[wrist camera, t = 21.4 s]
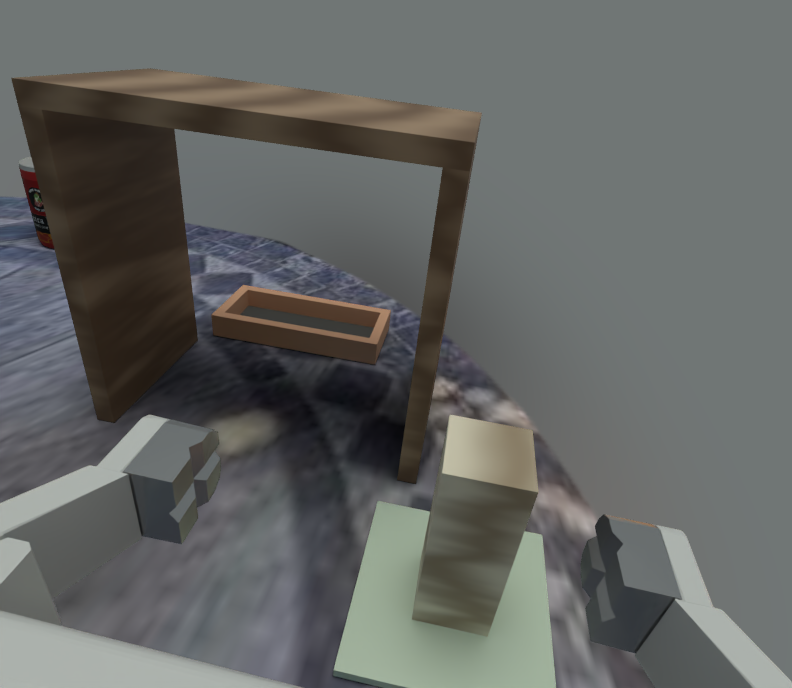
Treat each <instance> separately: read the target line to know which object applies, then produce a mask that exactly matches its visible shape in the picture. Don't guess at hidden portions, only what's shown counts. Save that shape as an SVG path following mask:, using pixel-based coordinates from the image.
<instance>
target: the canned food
mask: <svg viewBox="0 0 792 688" xmlns="http://www.w3.org/2000/svg"><path fill="white" fill-rule="evenodd" d="M19 169H20V172H21V177H22V180H23V184H24V188H25V192H26V195H27V199H28V203H29V206H30V210H31V214H32V217H33V221H34V225H35V228H36V232H37V236H38V239H39V240H40V242H41V243H42V244H43V245H44V246H46V247H49V248H53V249H54V245H53V241H52V237H51V233H50V229H49V225H48V221H47V217H46V213H45V209H44V205H43V201H42V198H41V194H40V190H39V186H38V182H37V178H36V174H35V170H34V166H33V162H32V158H31V157H27V158H24V159H22V160H20V161H19Z"/></svg>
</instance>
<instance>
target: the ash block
mask: <svg viewBox="0 0 792 688" xmlns="http://www.w3.org/2000/svg"><path fill="white" fill-rule="evenodd" d="M537 494H538V485H537V474H536V463H535V452H534V441H533V430H528V429H523V428H518V427H512V426H507V425H502V424H497V423H491V422H486V421H481V420H475V419H470V418H465V417H459V416H454V415H450V416H449V421H448V425H447V430H446V435H445V440H444V445H443V450H442V455H441V460H440V465H439V470H438V475H437V480H436V485H435V490H434V495H433V500H432V505H431V510H430V515H429V520H428V525H427V530H426V535H425V540H424V545H423V550H422V555H421V561H420V568H419V574H418V581H417V588H416V595H415V601H414V608H413V615H412V620H416V621H421V622H425V623H429V624H434V625H438V626H443V627H447V628H451V629H456V630H460V631H464V632H469V633H473V634H478V635H482V636H486V637H488V634H489V631H490V629H491V626H492V623H493V620H494V617H495V614H496V611H497V609H498V606H499V603H500V600H501V597H502V594H503V591H504V589H505V586H506V583H507V580H508V577H509V574H510V571H511V569H512V566H513V563H514V560H515V557H516V554H517V551H518V549H519V546H520V543H521V540H522V537H523V534H524V531H525V529H526V526H527V523H528V520H529V517H530V514H531V511H532V509H533V506H534V503H535V500H536V497H537Z"/></svg>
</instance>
